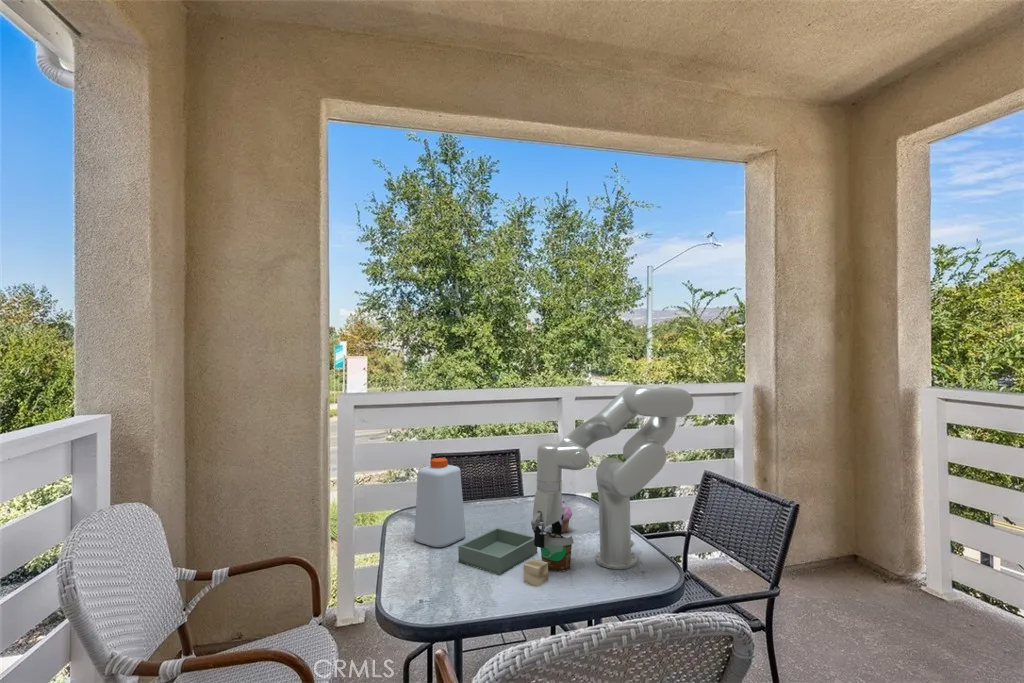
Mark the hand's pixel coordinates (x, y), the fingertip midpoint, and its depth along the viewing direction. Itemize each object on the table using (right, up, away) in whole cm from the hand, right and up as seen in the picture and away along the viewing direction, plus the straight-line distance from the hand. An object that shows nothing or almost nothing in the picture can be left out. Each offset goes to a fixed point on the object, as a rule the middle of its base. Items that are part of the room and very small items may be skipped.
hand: (548, 542), depth 153 cm
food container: (+1, -8, 0) cm, 8 cm away
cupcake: (+6, -9, +31) cm, 33 cm away
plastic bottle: (-36, -9, +25) cm, 45 cm away
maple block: (-4, -8, -9) cm, 12 cm away
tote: (-15, -8, +8) cm, 19 cm away
